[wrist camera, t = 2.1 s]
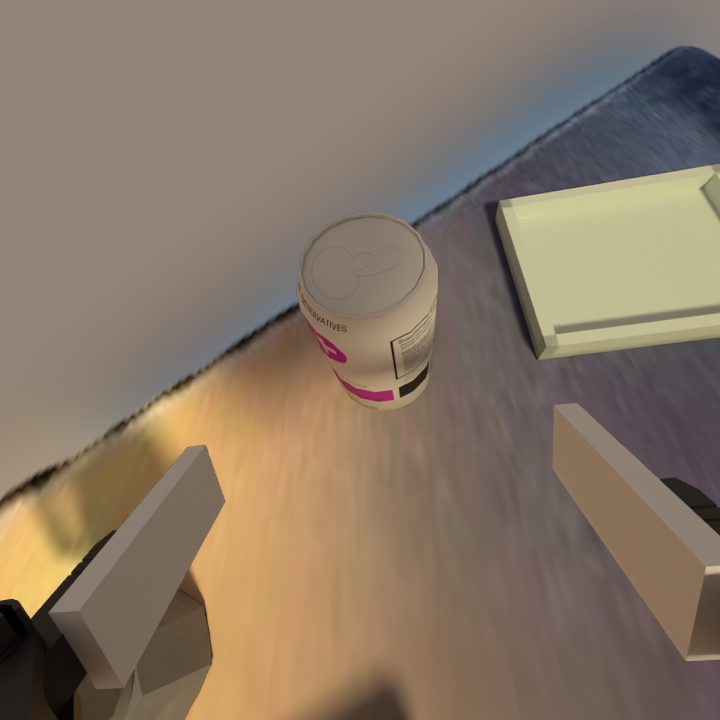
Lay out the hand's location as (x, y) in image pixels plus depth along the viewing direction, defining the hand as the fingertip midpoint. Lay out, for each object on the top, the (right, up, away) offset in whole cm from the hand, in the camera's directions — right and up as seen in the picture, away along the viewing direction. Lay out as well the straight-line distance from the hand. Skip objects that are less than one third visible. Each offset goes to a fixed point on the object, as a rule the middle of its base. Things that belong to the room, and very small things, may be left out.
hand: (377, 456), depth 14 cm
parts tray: (+24, +12, +20) cm, 33 cm away
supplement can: (+2, +3, +20) cm, 20 cm away
